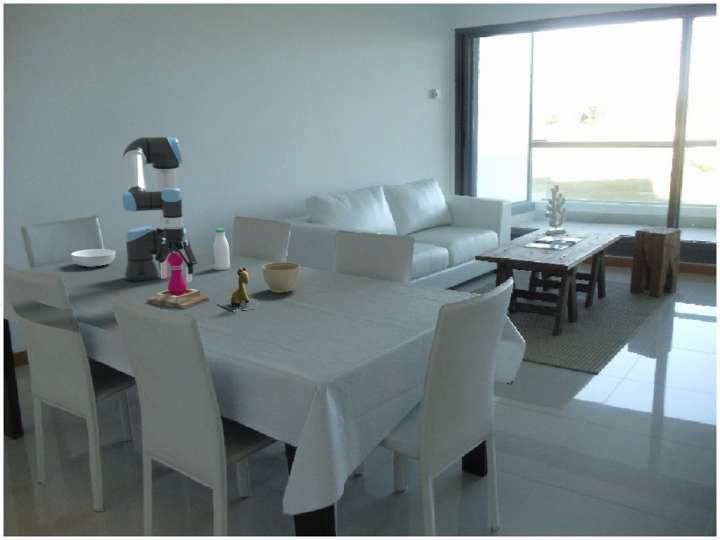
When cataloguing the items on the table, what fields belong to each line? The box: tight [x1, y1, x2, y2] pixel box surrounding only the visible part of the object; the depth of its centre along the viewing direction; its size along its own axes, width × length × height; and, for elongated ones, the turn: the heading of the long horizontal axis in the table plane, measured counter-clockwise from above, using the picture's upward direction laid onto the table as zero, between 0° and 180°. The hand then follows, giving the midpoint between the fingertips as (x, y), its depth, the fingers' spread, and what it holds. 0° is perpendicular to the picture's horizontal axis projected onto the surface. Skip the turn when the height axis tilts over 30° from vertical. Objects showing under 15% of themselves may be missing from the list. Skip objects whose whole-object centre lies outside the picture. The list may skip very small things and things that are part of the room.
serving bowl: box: [70, 248, 116, 268], centre depth 342 cm, size 21×21×7 cm
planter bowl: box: [261, 261, 301, 294], centre depth 290 cm, size 16×16×11 cm
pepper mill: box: [167, 251, 188, 296], centre depth 271 cm, size 7×7×20 cm
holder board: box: [146, 288, 210, 310], centre depth 273 cm, size 20×14×4 cm
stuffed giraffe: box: [216, 267, 258, 312], centre depth 268 cm, size 16×18×16 cm
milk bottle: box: [212, 227, 231, 271], centre depth 333 cm, size 8×8×20 cm
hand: (176, 280), depth 272 cm, fingers open, 13 cm apart
